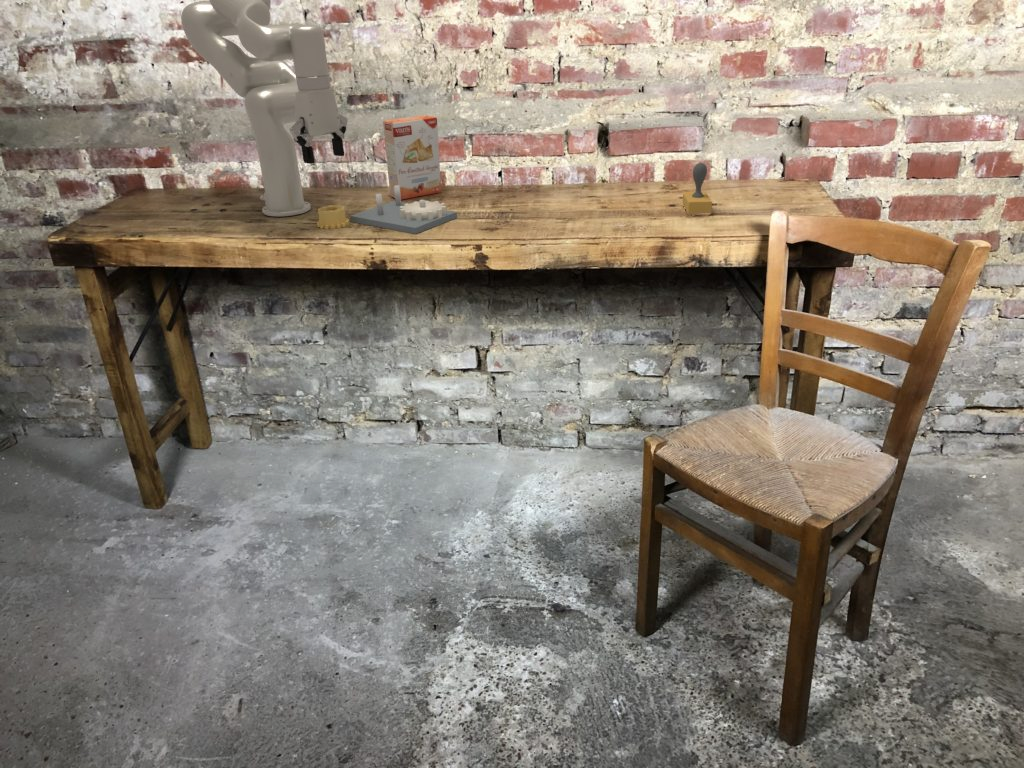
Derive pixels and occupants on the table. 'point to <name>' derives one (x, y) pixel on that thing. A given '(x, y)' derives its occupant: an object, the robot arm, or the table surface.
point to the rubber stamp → (697, 193)
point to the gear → (332, 217)
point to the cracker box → (413, 155)
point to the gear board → (396, 220)
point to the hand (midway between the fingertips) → (324, 159)
